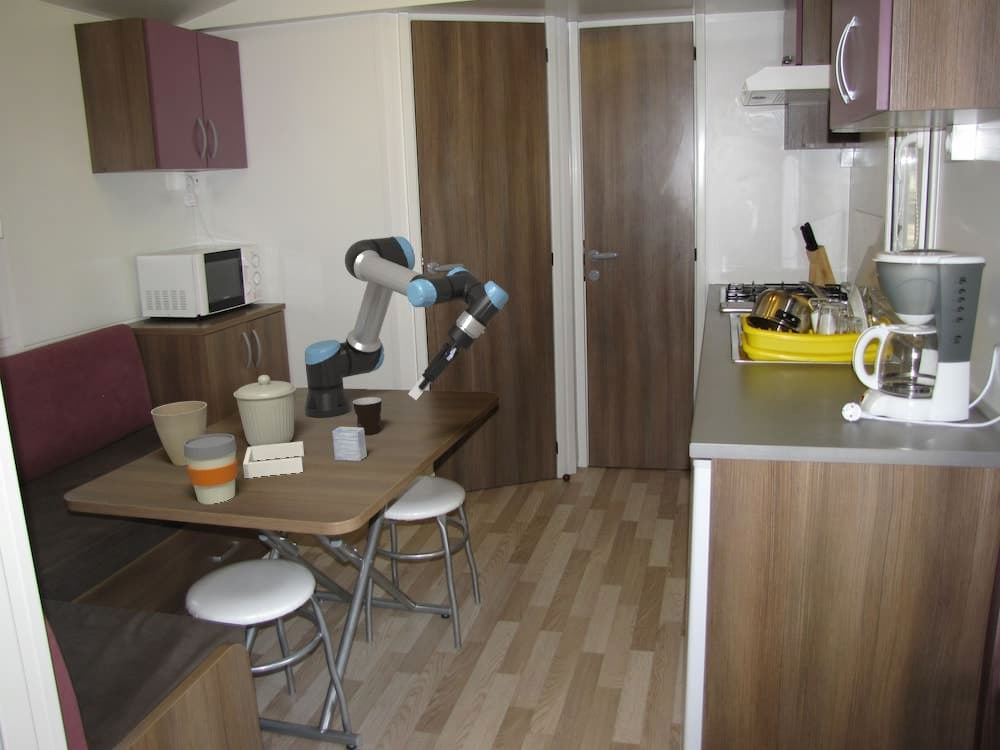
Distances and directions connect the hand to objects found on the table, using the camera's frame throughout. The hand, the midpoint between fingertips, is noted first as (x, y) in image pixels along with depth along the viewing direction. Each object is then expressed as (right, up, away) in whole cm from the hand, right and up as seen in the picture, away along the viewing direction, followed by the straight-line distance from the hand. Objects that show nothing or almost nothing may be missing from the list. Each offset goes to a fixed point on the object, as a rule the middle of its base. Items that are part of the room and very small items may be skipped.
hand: (412, 396), depth 253 cm
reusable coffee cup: (-47, -25, -26) cm, 59 cm away
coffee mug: (-15, -11, +26) cm, 33 cm away
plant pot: (-65, -19, +5) cm, 68 cm away
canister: (-44, -15, +18) cm, 50 cm away
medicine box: (-17, -17, 0) cm, 25 cm away
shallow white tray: (-37, -19, -3) cm, 41 cm away
